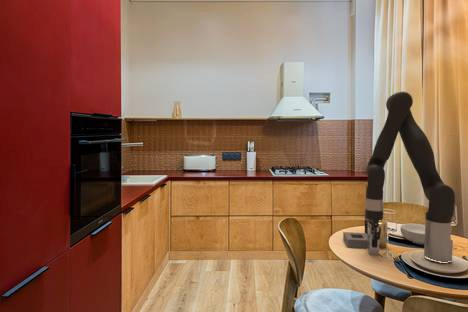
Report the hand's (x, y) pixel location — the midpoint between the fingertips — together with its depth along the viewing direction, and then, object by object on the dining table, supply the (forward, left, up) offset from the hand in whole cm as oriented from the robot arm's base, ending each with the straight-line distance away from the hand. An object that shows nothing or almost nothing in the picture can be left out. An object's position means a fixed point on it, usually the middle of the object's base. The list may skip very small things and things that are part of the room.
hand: (373, 245), depth 136 cm
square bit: (0, 0, -4) cm, 4 cm away
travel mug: (-6, -24, -4) cm, 25 cm away
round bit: (-6, -9, -4) cm, 11 cm away
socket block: (+4, -11, -4) cm, 12 cm away
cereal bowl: (-27, -19, -4) cm, 33 cm away
